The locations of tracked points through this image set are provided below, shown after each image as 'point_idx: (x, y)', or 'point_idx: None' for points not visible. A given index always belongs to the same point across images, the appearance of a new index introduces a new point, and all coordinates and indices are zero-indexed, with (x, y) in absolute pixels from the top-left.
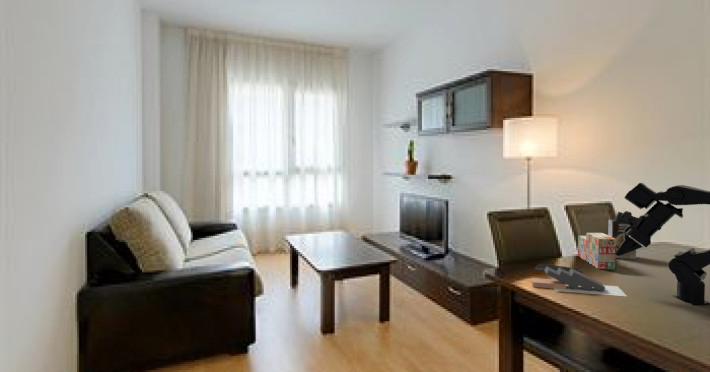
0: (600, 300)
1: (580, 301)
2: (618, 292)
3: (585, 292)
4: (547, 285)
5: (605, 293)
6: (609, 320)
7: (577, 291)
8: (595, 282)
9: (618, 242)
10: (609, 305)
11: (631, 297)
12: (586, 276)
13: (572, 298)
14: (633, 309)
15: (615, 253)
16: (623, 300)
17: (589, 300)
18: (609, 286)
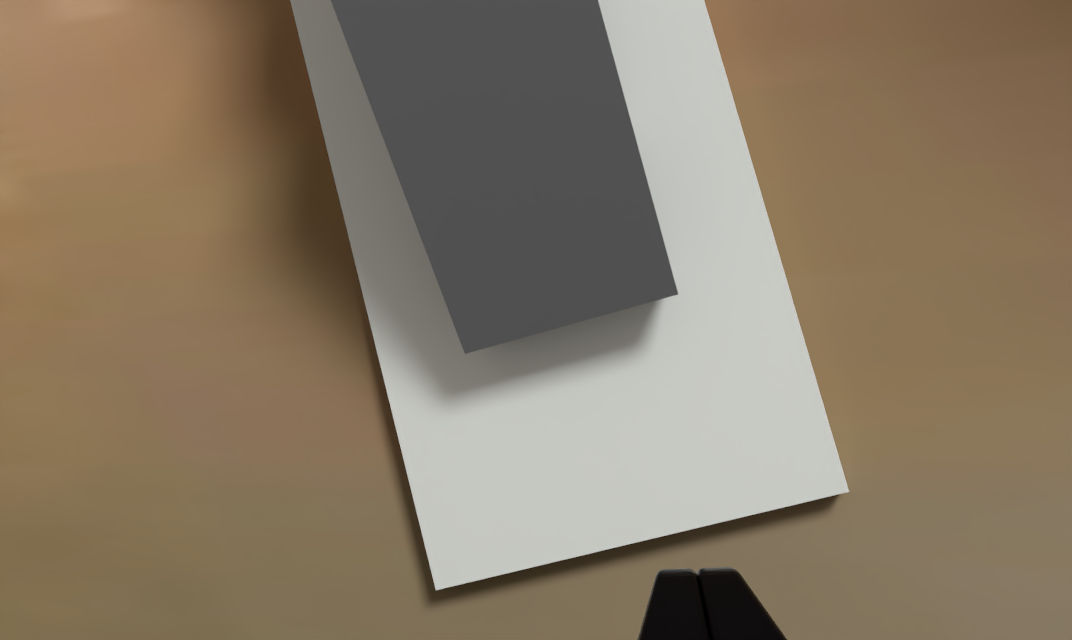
0: (221, 318)
1: (93, 138)
2: (549, 499)
3: (350, 148)
4: None
5: (428, 358)
6: None
7: (344, 62)
8: (446, 226)
9: None
10: (101, 408)
11: (502, 633)
12: (542, 84)
13: (152, 52)
14: (87, 626)
15: (658, 575)
16: (340, 544)
17: (168, 215)
18: (781, 393)
